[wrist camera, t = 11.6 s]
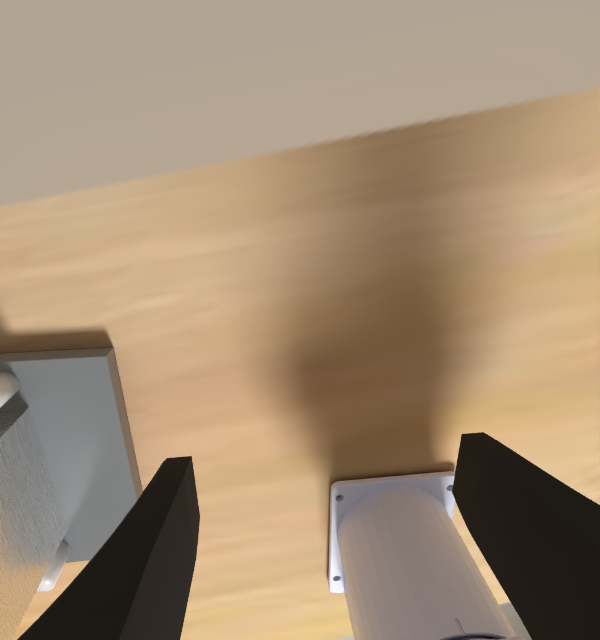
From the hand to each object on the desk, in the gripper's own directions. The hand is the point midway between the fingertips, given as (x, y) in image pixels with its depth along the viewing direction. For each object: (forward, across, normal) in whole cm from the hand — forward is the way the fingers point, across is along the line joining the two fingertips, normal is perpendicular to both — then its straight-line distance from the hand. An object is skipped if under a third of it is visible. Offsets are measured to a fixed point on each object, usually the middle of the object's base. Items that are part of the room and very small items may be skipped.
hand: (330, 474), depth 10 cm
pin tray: (+10, +15, +7) cm, 20 cm away
